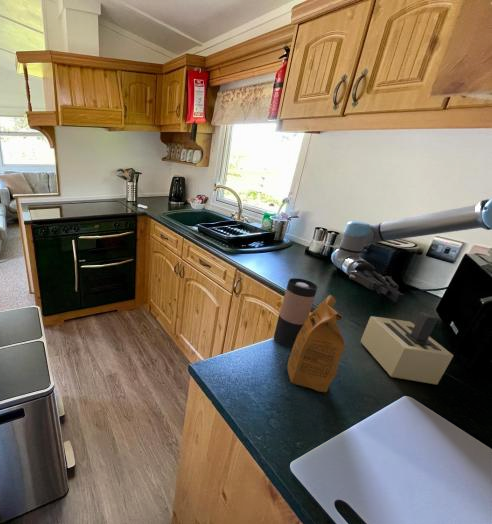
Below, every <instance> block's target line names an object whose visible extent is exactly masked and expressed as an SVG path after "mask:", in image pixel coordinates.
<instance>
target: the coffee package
mask: <svg viewBox="0 0 492 524" xmlns="http://www.w3.org/2000/svg"><path fill="white" fill-rule="evenodd" d="M336 302H337V301H336V299H335V296H333V295H331V294H330V295H328V296H327V297H325V299H324V300H323V301H322V302H320V303H319V305H318V306H317V307H316V308H315V309H313V311H311V312H310V314H309V317H308V318H307V320H306V322H305V323H304V325H303V327H302V328H301V330H300V331H299V333H298V335H297V338H296V340H295V343H294V345H293V348H291V351H290V354H289V357H288V361H287V364H286V365H287V366H286V367H287V373H288V377H289V378H288V379H289V382H290V383H292V384H293V385H296V386H299V387H304V388H309V389H312V390H314V391H316V392H319V393H321V392H322V393H328V390H329V388H330V385H331V384H332V382H333V380H334V379H335V377H336V376H337V373H338V367H339V364H340V362H341V359H342V357H343V353H344V350H345V347H346V344H345V341H344V337H343V335H342V333H341V330H340V328H339V325H338V321H342V320H343V316H342V314H340V313H339V312H338V311H336V310H335V309H333V307H334V305H335V304H336ZM337 320H338V321H337Z"/></svg>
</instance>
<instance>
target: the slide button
mask: <svg viewBox="0 0 492 524" xmlns="http://www.w3.org/2000/svg"><path fill="white" fill-rule="evenodd" d="M438 321H439V318H438V317H437V316H435V315H434V314H433V313H428V312H420V314H419V316H418V318H417V320H416V322H415V324H414V325H415V326H414V328H413V330H412V333H411V334H408V333H406V334H405V335H406V336H407V337H408V338H409V339H411V340H412V341H413V342H414V343H415V344H421V345H428V346H430V345H431V344H430V343H429V342H428V341H427V340H428V338H429V337H431V333H432V332H433V330H434V329H435V327H436V324H437V323H438Z"/></svg>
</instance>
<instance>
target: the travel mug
mask: <svg viewBox="0 0 492 524" xmlns="http://www.w3.org/2000/svg"><path fill="white" fill-rule="evenodd" d="M286 285H287V286H286V289H285V292H284V295H283V299H282V302H281V306H280V308H279V309H280V310H279V313H278V317H277V321H276V326H275V329H274V334H273V340H274V342H275V343H276V344H278V345H279V346H281V347H282V348H286V349H292V348H293V345H294V343H295V340H296V338H297V335H298V333H299V331H300V330H301V328H302V327H303V325H304V323H305V322H306V320H307V318H308V317H309V316H310V314H311V312H312V308H313V303H314V300H315V297H316V294H317V291H318V288H319V287H318V285H317V284H316V283H314V282H312V281H310V280H307V279H304V278H297V277H294V278H293V277H292V278H289V279H288V282H287V284H286Z"/></svg>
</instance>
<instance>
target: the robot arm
mask: <svg viewBox="0 0 492 524" xmlns="http://www.w3.org/2000/svg"><path fill="white" fill-rule="evenodd" d="M473 229H483V230H486V231H490V230H492V198H489V199H488V198H487V199H482V200H480V201H479V202H478V203H477V204H473V205H467V206H461V207H457V208H452V209H447V210H442V211H437V212H436V211H435V212H431V213H426V214H419V215H415V216H409V217H404V218H400V219H393V220H388V221H383V222H378V223H372V224H371V223H367V222H364V221H363V222H362V221H358V220H357V221H356V220H351V221H348V222H347V224H346V226H345V229H344V231H343V234H342V238H341V241H340V244H339V247H338V249H336V250H334V251H333V252H332V253H331V257H330V259H331V262H332V263H333V264H334V266H335V267H336V268H338V269H339V270H341V271H342V272H343V273H345V274H346V275H347V276H348V279H349V280H352V281H354V282H356V283H358V284H360V285H362V286H364V287H365V288H367V289H369V290H371V291H376V294H378V295H381V294H383V295H384V296H386V297H387V298H389V299H390V300H391V301H393V302H394V303H395V304H402V302H403V300H404V298H405V294H404V293H403V292H401V291H399V290H398V289H399V284H398V283H396V282H395V280H393V279H392V276H391V275H386V276H382V274H380V273H378V272H377V271H376V268H375V266H374V265H373V264H371V263H369V262H368V261H367V260H365V259H363V258H362V257H361V255H362V252H363V249H364V247H365V245H369V244H374V243H382V242H389V241H396V240H402V239H410V238H411V239H412V238H417V237H425V236H431V235H432V236H433V235H439V234H440V235H441V234H446V233H447V234H448V233H454V232H461V231H467V230H473Z"/></svg>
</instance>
